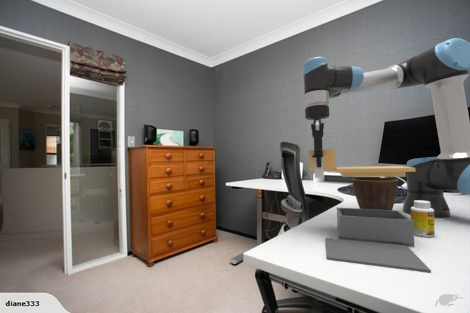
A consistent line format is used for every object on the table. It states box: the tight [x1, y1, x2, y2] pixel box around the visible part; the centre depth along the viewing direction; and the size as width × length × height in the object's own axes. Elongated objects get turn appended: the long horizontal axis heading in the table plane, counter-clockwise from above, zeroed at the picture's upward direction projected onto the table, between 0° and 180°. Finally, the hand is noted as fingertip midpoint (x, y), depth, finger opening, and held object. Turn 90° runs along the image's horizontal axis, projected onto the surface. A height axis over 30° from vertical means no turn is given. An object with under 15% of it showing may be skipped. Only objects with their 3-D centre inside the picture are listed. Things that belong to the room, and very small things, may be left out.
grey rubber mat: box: [325, 237, 432, 274], centre depth 56 cm, size 20×14×1 cm
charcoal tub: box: [336, 207, 415, 248], centre depth 69 cm, size 18×12×7 cm, turn 69°
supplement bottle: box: [410, 200, 436, 238], centre depth 69 cm, size 6×6×10 cm
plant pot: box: [351, 177, 399, 210], centre depth 85 cm, size 15×15×16 cm
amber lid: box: [308, 148, 416, 178], centre depth 70 cm, size 27×13×8 cm, turn 69°
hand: (319, 176), depth 74 cm, fingers closed on amber lid, 3 cm apart
